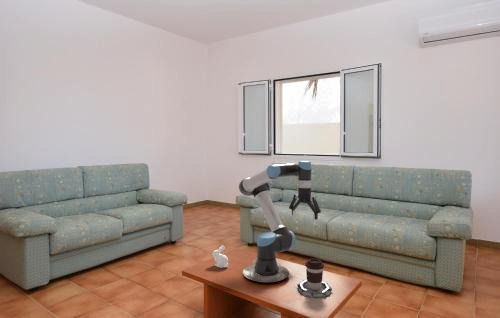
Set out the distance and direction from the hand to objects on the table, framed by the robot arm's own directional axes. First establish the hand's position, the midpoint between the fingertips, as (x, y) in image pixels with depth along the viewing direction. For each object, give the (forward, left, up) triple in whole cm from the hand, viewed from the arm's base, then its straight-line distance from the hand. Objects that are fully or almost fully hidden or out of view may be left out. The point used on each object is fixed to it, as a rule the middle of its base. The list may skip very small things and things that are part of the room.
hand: (304, 222), depth 190 cm
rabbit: (-51, -20, -33) cm, 64 cm away
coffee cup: (+13, -11, -32) cm, 36 cm away
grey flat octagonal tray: (+13, -11, -33) cm, 37 cm away
